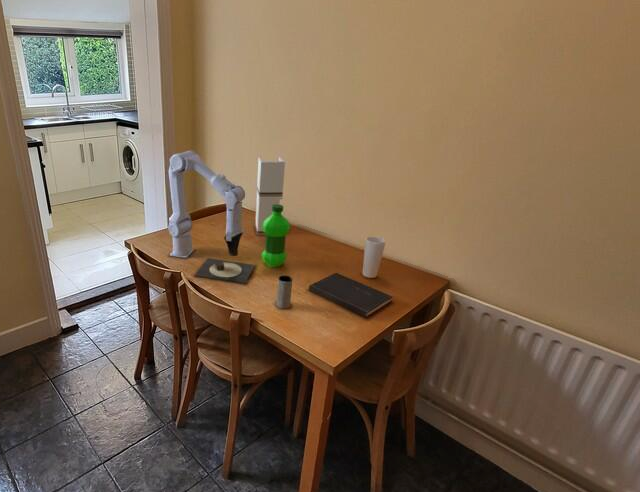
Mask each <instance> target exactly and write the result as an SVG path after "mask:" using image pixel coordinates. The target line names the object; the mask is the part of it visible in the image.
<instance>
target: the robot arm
mask: <svg viewBox="0 0 640 492" xmlns="http://www.w3.org/2000/svg"><path fill="white" fill-rule="evenodd" d="M187 171H195V172H196V173H198V174H200V175H201V176H202V177H204V178H205V179H206V180H208V181H209V182H210V186H211V187H212V189H214V190H215V191H216V192H218V194H220V195H221V196H222V197H223V200H224V202H225V205H226V206H225V207H226V227H225V234H226V235H224V237H223V238H224V239H223V240H224V241H225V244H226V246H227V250H228V254H229V253H230V254H235V251H236V249H238V248H239V246H240V241H241V238H242V236H243V234H244V233H245V229H242V222H243V221H242V220H243V217H242V216H243V200H244V199H245V197H246V192H245V190H244V188H243V187H242V186H241V185H235V183H232V182H231V181H230V180H229V179H228V178H227V177H226V175H225V174H217V173H215V171H213V169H211V168H210V167H209V165H207V164H206V163H205V162H204V161H203V160H202V159H201V157H200V155H199V154H197V153H196V152H195V151H194V150H191V149H189V150H187V151H183V152H179V153H174V154H173V155H172V156H171V157H170V158H169V168H168V180H169V189H170V197H171V207H172V214H171V216H170V217H169V219H168V222H169V223H168V227H167V230H168V233H169V234H170V236H171V237H172V252H170V254H169V257H176V258H182V259H183V258H184V259H187V258H188V257H189V256H190V255H191V254H192V253H193V252H194V251H195V248H193V235H192V233H191V230H192V229H193V227H194V226H193V225H194V224H193V222H192V219H191V215H190V213H188V212H187V207H186V206H187V205H186V198H185V197H186V196H185V186H184V185H185V184H184V174H185V173H187ZM238 250H239V249H238Z"/></svg>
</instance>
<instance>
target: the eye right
mask: <svg viewBox="0 0 640 492" xmlns="http://www.w3.org/2000/svg"><path fill="white" fill-rule="evenodd" d="M238 255H239V249H236V251H235V254H230V253H229V252H228V256H230V257H237V256H238Z"/></svg>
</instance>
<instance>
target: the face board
mask: <svg viewBox="0 0 640 492" xmlns="http://www.w3.org/2000/svg"><path fill="white" fill-rule="evenodd" d="M217 262H222V263H224V270H221V271H218V270H216V269H215V264H216V263H217ZM255 265H256V264H252V263H250V264H249V263H243V262H236V261H229V260H222V259H215V258H207V259H206V261H204V263H203V264H202V266H201V267H200V268H199V269H198V270H197V272H196V273H195V274H194V277H195V278H202V279H208V280H216V281H222V282H227V283H233V284H240V285H246V283H247V282H248V280H249V278H250V275H251V274H252V272H253V270H254V269H255Z"/></svg>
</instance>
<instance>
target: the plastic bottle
mask: <svg viewBox="0 0 640 492" xmlns="http://www.w3.org/2000/svg"><path fill="white" fill-rule="evenodd" d="M272 211H273V214H272V215H271V216H269V217H268V218H267V219H266V220H265V221H264V223H263V231H264V232H265V233H266V235H264V236H265V239H264V250H263V251H262V253H261V258H262V260H263V262H264V264H266V265H267V266H268V267H270V268H279V267H280V266H281V265H283V264H284V263H285V261H286V260H287V256H288V255H287V252H286V250H285V249H286V238H287V234H288V233H289V232H290V228H291V224H290V221H288V219H287V218H286V217H285V216H283V214H282V212H284V206H283V204H279V205H278V204H275V205H273V206H272Z"/></svg>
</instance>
